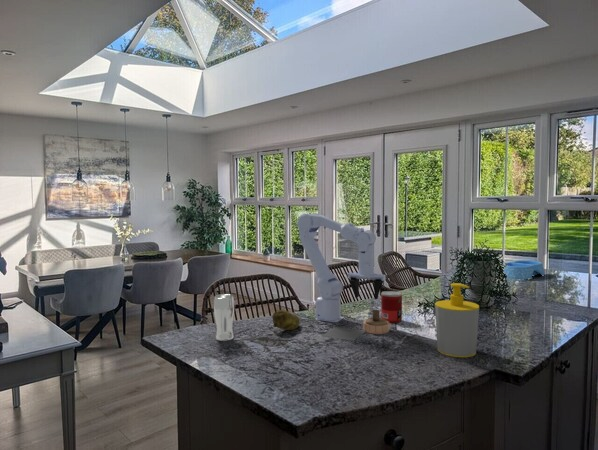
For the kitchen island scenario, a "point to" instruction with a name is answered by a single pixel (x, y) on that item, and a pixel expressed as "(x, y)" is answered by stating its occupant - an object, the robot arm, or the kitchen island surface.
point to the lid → (376, 319)
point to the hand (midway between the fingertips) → (366, 298)
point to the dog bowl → (523, 269)
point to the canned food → (391, 306)
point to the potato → (285, 320)
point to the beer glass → (224, 316)
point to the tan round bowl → (376, 328)
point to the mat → (344, 333)
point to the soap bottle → (457, 324)
